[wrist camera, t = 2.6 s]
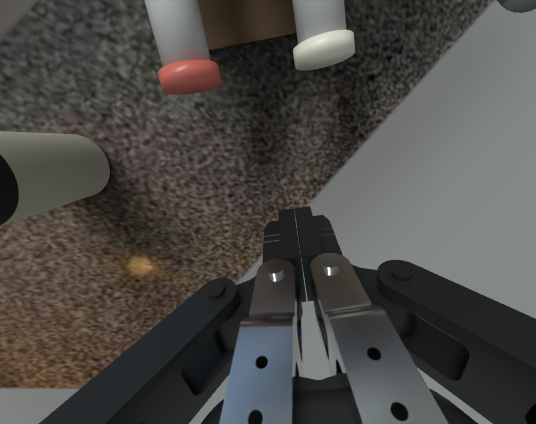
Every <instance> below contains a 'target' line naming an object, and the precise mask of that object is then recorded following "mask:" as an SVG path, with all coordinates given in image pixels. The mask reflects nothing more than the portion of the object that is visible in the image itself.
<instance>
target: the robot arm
mask: <svg viewBox="0 0 536 424" xmlns="http://www.w3.org/2000/svg"><path fill="white" fill-rule="evenodd" d="M497 1H498V2H499V3H500V4H501V5H502V6H503V7H504V8H506V9H507V10H510V11H512V12H520V13H523V12H527V11H531V10H533V9H535V8H536V0H497ZM295 214H296V222H297V228H296V222H295V215H294V209H286V210H279V221H273V222H269V223H268V224H267V226H266V227H265V228H264V246H263V264H262V265H261V266H260V267H259V269H258V270H257V274H256V276H255V277H254V278H252V279H251V280H249V281H246V282H243V283H241V284H238V285H235V283H234V282H233V281H232V280H230V279H226V278H219V279H215V280H212V281H210V282H208V283H207V284H205V285H204V286H203V287H202V288H200V289H199V290H198V291H197V292H196V293H194V294H193V295H192V296H191V297H190V298H188V299H187V300H186V301H185V302H184V303H182V304H181V305H180V306H179V307H178V308H176V309H175V310H174V311H173V312H172V313H170V314H169V315H168V316H167V317H166V318H165V319H163V320H162V321H161V322H160V323H159V324H157V325H156V326H155V327H154V328H153V329H151V330H150V331H149V332H148V333H147V334H145V335H144V336H143V337H142V338H141V339H139V340H138V341H137V342H136V343H135V344H133V345H132V346H131V347H130V348H129V349H127V350H126V351H125V352H124V353H123V354H122V355H120V356H119V357H118V358H117V359H116V360H114V361H113V362H112V363H111V364H110V365H108V366H107V367H106V368H105V369H104V370H102V371H101V372H100V373H99V374H98V375H96V376H95V377H94V378H93V379H92V380H90V381H89V382H88V383H87V384H86V385H84V386H83V387H82V388H81V389H80V390H78V391H77V392H76V393H75V394H74V395H73V396H71V397H70V398H69V399H68V400H67V401H65V402H64V403H63V404H62V405H61V406H60V407H58V408H57V409H56V410H55V411H53V412H52V413H51V414H50V415H49V416H48V417H46V418H45V419H44V420H43V421H41V422H40V423H39V424H189V423H190V421H191V420H192V419H193V417H194V416H195V415H196V414H197V413H198V412H199V410H200V409H201V408H202V407H203V405H204V404H205V403H206V402H207V401H208V399H209V398H210V397H211V396H212V394H213V393H214V392H215V391H216V389H217V388H218V387H219V386H220V385H221V383H222V382H223V381H224V380H225V379H226V377H227V376H228V375H229V374H230V375H229V380H228V385H227V389H226V394H225V398H224V399H223V400H222V401H221V402H220V403H219V404H217V405H216V406H215V407H214V408H213V410H212V411H211V412H210V413H209V414H208V415H207V416H206V418H205V419H204V420H203V422H202V423H201V424H478V423H477V422H475V421H474V420H473V419H472V418H470V417H469V416H468V415H467V414H465V413H464V412H463V411H462V410H460V409H459V408H458V407H457V406H455V405H454V404H453V403H451V402H450V401H449V400H447V399H446V398H444V397H443V396H441V395H440V394H438V393H437V392H435V391H433V390H431V389H429V388H428V386H427V385H426V383H425V381H424V379H423V378H422V376H421V374H420V372H419V371H418V369H417V367H418V368H419V369H420V370H422V371H423V372H424V373H426V374H427V375H429V376H430V377H431V378H432V379H434V380H435V381H436V382H438V383H439V384H440V385H442V386H443V387H445V388H446V389H447V390H448V391H450V392H451V393H453V394H454V395H455V396H457V397H458V398H459V399H461V400H462V401H463V402H465V403H466V404H467V405H469V406H470V407H471V408H473V409H474V410H475V411H477V412H478V413H479V414H481V415H482V416H483V417H485V418H486V419H487V420H489V421H490V422H491V423H493V424H536V319H535V318H532V317H530V316H528V315H526V314H524V313H521V312H519V311H517V310H515V309H513V308H510V307H508V306H506V305H504V304H501V303H499V302H497V301H495V300H493V299H490V298H488V297H486V296H484V295H481V294H479V293H477V292H475V291H472V290H470V289H468V288H466V287H464V286H461V285H459V284H457V283H455V282H452V281H450V280H448V279H446V278H443V277H441V276H439V275H437V274H435V273H432V272H430V271H428V270H426V269H424V268H421V267H419V266H417V265H414V264H412V263H410V262H407V261H402V260H390V261H386V262H384V263H382V264H381V265H380V266H379V267H378V270H372V269H364V268H360V267H357V266H354V265H352V264H351V263H350V262H349V260H348V259H347V258H345V257H344V256H343V255H342V252H341V250H340V247H339V245H338V242H337V239H336V236H335V234H334V231H333V229H332V226H331V224H330V221H329V220H328V219H327V218H326V217H325V216H323V215H318V216H313V215H312V212H311V208H310V206H308V207H301V208H295ZM297 230H298V235H297ZM298 237H299V242H298ZM299 245H300V248H299ZM300 252H301V255H300ZM301 258H302V263H301ZM302 264H303V271H304V277H305V284H306V291H307V297H308V301H314V307H315V315H316V321H317V325H318V329H319V333H320V336H321V340H322V344H323V348H324V352H325V356H326V359H327V363H328V367H329V372H330V377H328V378H325V379H323V380H314V379H309V378H305V377H304V361H303V331H302V330H303V329H302V313H303V310H302V302H305V301H306V294H305V286H304V279H303V271H302ZM419 317H420V318H419ZM422 319H423V320H422ZM424 320H425V321H424ZM427 322H428V323H427ZM429 323H430V324H429ZM432 325H433V326H432ZM434 326H435V327H434ZM437 328H438V329H437ZM439 329H440V330H439ZM442 331H443V332H442ZM444 332H445V333H444ZM447 334H448V335H447ZM449 335H450V336H449ZM451 336H452V337H451ZM454 338H455V339H454Z"/></svg>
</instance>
